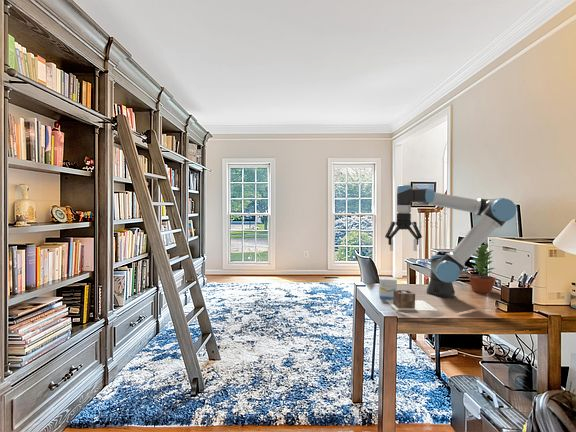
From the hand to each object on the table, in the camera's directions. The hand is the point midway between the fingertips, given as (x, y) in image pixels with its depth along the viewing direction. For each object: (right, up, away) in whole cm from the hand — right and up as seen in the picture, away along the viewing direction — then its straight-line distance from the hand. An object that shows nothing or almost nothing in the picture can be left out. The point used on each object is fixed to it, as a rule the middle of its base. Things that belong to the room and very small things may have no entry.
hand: (403, 250), depth 197 cm
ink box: (-10, -26, -6) cm, 29 cm away
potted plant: (+54, -27, +20) cm, 64 cm away
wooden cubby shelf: (-7, -25, -22) cm, 34 cm away
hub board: (-3, -26, -20) cm, 33 cm away
